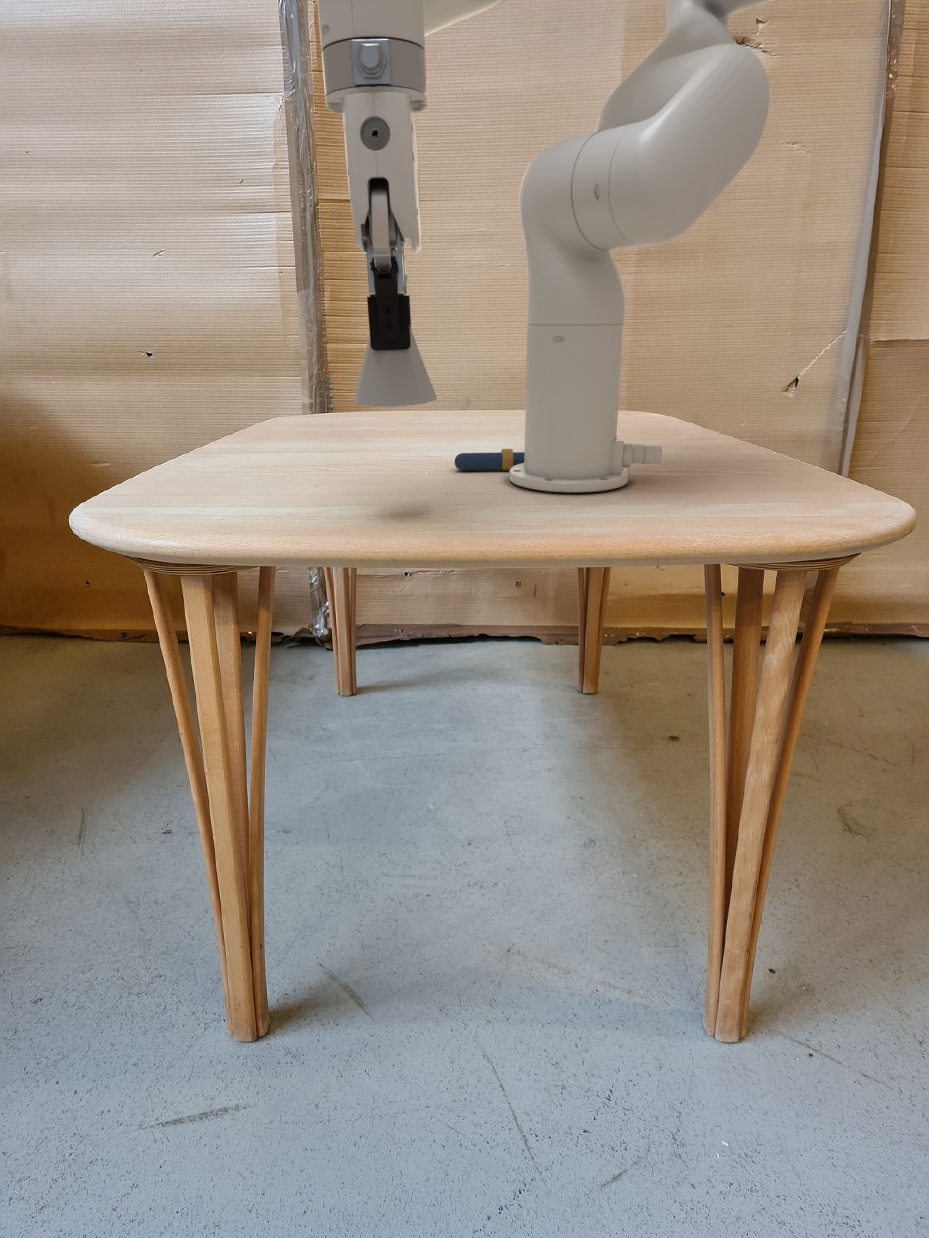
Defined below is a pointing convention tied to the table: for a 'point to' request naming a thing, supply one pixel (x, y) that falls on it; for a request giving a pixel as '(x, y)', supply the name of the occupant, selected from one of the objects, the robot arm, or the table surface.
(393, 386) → the flask
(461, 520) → the table surface
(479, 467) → the dark blue marker
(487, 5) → the robot arm
